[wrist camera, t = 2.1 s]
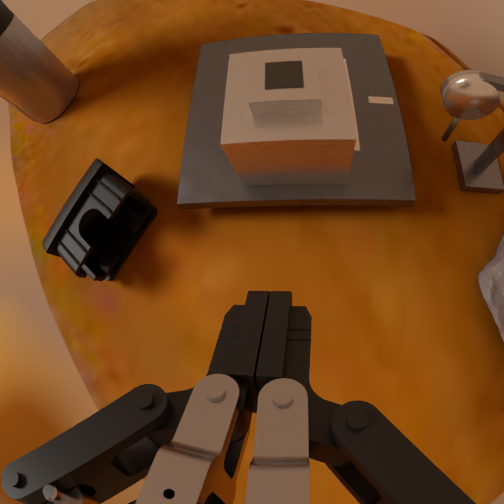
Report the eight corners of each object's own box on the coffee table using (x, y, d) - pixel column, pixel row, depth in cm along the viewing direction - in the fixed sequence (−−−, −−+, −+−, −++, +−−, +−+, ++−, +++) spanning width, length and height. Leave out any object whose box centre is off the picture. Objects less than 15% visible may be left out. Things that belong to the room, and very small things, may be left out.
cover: (243, 185, 26) (213, 131, 18) (247, 104, 28) (224, 40, 19) (346, 183, 25) (359, 125, 16) (338, 101, 26) (341, 33, 18)
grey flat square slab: (183, 209, 28) (176, 203, 27) (205, 52, 32) (201, 44, 31) (411, 206, 25) (416, 200, 23) (377, 44, 28) (378, 34, 27)
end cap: (121, 176, 33) (86, 150, 27) (162, 207, 31) (128, 181, 25) (73, 248, 33) (32, 235, 26) (108, 286, 31) (66, 278, 24)
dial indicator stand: (410, 188, 27) (467, 97, 13) (402, 142, 28) (443, 40, 14) (499, 193, 25) (577, 127, 11) (489, 150, 26) (552, 72, 12)
